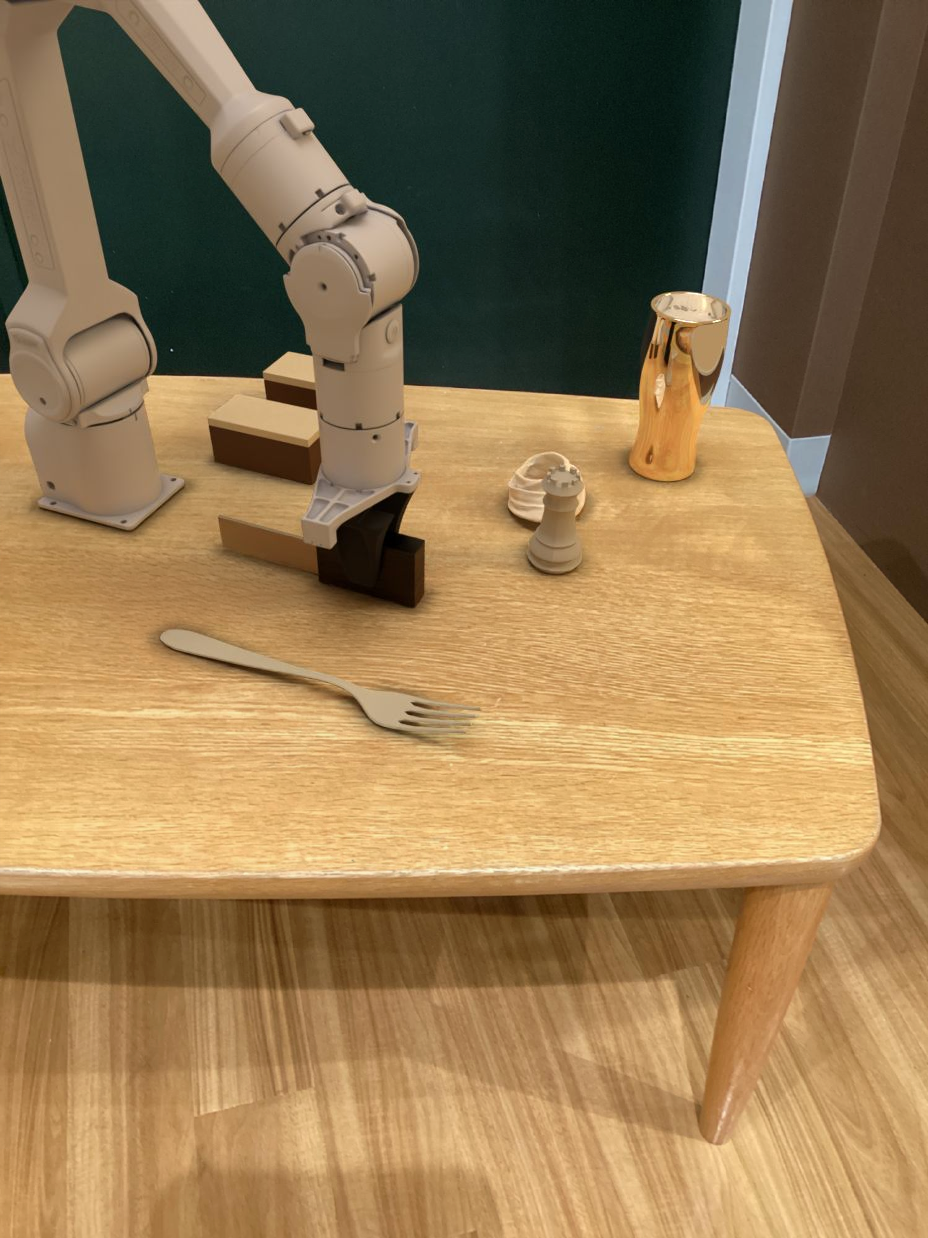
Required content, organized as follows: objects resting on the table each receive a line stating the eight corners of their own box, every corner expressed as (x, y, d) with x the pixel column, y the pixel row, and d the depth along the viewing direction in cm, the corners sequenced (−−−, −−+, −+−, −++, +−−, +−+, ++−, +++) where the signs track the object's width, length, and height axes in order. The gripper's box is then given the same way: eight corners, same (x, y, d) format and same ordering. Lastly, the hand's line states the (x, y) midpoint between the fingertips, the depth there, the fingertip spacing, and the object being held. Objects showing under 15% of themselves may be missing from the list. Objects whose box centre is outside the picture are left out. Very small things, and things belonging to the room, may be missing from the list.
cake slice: (267, 414, 91) (262, 371, 88) (292, 392, 95) (288, 351, 92) (359, 434, 88) (357, 390, 86) (381, 411, 92) (379, 369, 89)
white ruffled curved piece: (569, 547, 77) (580, 501, 73) (492, 525, 78) (499, 479, 74) (590, 492, 82) (600, 447, 79) (517, 472, 83) (525, 427, 80)
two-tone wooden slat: (424, 592, 70) (425, 539, 67) (414, 608, 69) (414, 554, 66) (230, 540, 74) (222, 487, 71) (216, 553, 73) (207, 500, 70)
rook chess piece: (579, 580, 72) (590, 493, 67) (522, 572, 73) (529, 485, 67) (584, 547, 75) (596, 462, 70) (530, 539, 76) (538, 454, 71)
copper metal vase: (710, 459, 86) (746, 302, 77) (682, 492, 82) (716, 330, 72) (642, 438, 89) (668, 283, 79) (611, 469, 85) (634, 309, 75)
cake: (214, 461, 84) (206, 417, 81) (243, 436, 88) (236, 392, 85) (312, 484, 81) (307, 439, 79) (337, 457, 85) (334, 413, 82)
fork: (175, 621, 67) (171, 602, 66) (484, 722, 60) (485, 703, 59) (147, 648, 65) (142, 629, 64) (464, 756, 58) (465, 737, 57)
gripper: (368, 475, 55) (377, 645, 63) (457, 374, 65) (454, 533, 74) (263, 451, 56) (286, 620, 65) (366, 357, 67) (373, 513, 76)
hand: (369, 572), depth 70 cm, fingers closed on two-tone wooden slat, 2 cm apart
